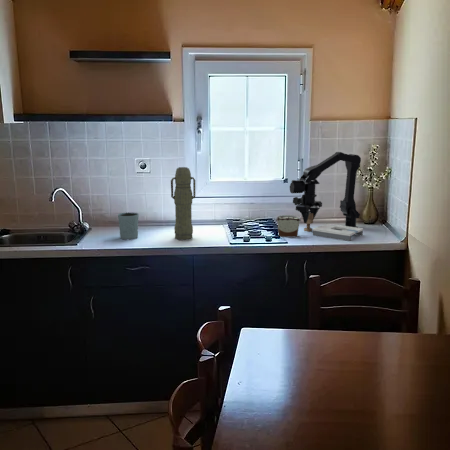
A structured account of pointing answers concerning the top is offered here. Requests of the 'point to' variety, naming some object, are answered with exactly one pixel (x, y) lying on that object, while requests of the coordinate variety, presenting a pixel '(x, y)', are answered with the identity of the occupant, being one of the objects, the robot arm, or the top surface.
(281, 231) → the food container
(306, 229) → the T-peg
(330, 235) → the keyhole plate
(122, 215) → the green plant pot
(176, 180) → the thermos
